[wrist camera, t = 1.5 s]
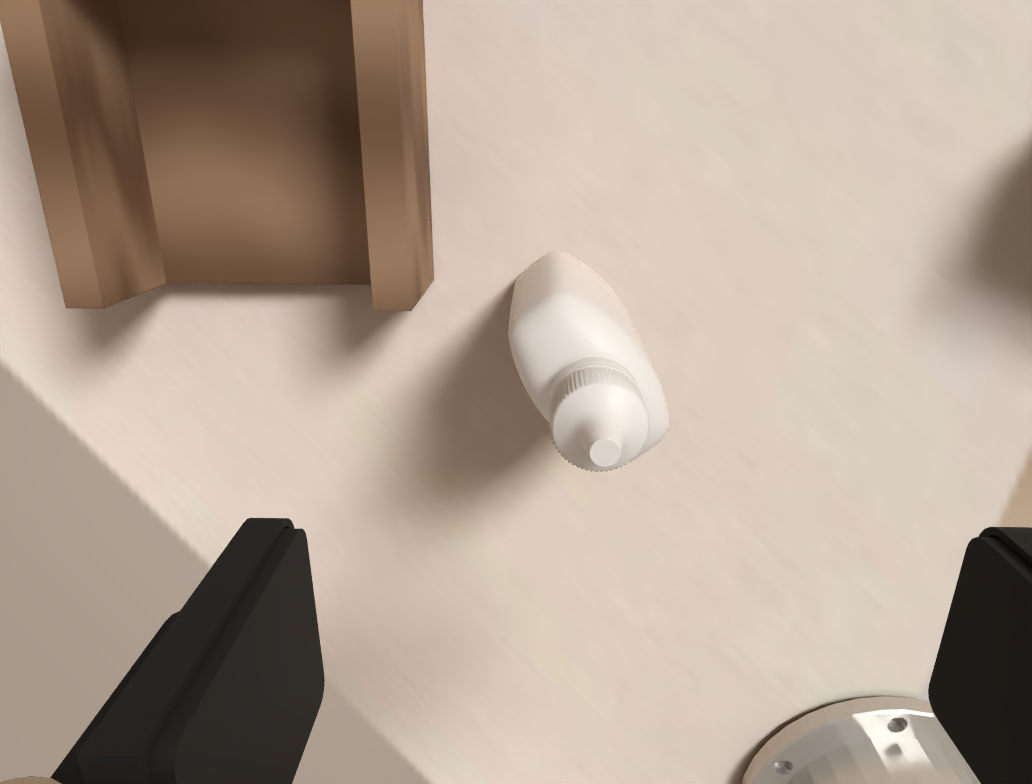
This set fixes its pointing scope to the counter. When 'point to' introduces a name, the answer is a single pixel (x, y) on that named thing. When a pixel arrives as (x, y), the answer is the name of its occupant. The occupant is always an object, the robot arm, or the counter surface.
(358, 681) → the counter surface
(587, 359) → the eye dropper bottle
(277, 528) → the robot arm
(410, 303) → the open wooden box
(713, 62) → the counter surface
